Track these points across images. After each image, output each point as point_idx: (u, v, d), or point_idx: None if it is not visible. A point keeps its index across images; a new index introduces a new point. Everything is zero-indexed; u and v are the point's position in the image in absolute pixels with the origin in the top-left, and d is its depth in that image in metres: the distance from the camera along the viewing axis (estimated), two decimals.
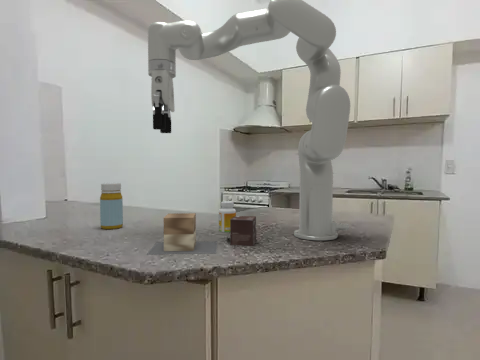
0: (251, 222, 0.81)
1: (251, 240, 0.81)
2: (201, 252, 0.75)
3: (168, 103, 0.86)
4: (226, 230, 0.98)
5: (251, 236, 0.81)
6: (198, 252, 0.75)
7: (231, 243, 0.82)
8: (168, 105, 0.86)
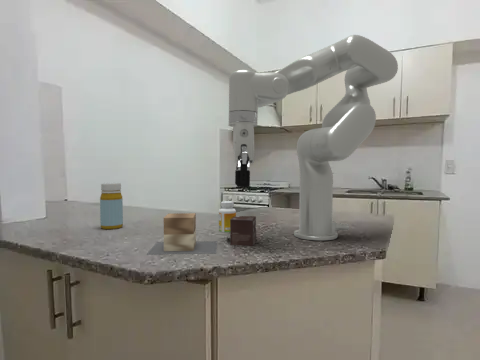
0: (251, 222, 0.81)
1: (251, 240, 0.81)
2: (201, 252, 0.75)
3: (253, 158, 0.79)
4: (226, 230, 0.98)
5: (251, 236, 0.81)
6: (198, 252, 0.75)
7: (231, 243, 0.82)
8: (253, 160, 0.79)
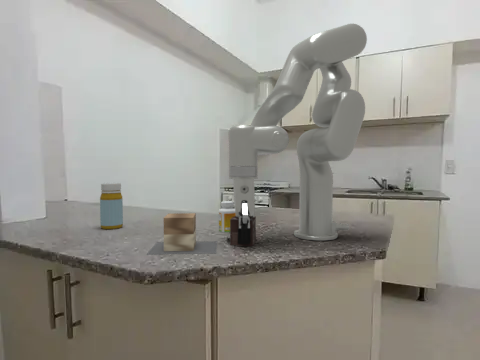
0: (251, 222, 0.81)
1: (251, 240, 0.81)
2: (201, 252, 0.75)
3: (254, 214, 0.80)
4: (226, 230, 0.98)
5: (251, 236, 0.81)
6: (198, 252, 0.75)
7: (231, 243, 0.82)
8: (254, 216, 0.80)
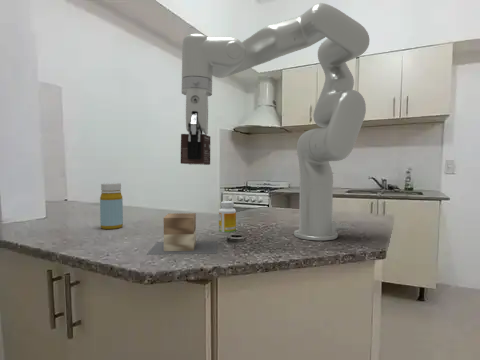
0: (202, 136, 0.77)
1: (202, 156, 0.77)
2: (201, 252, 0.75)
3: (205, 126, 0.75)
4: (226, 230, 0.98)
5: (202, 151, 0.77)
6: (198, 252, 0.75)
7: (181, 159, 0.78)
8: (205, 129, 0.75)
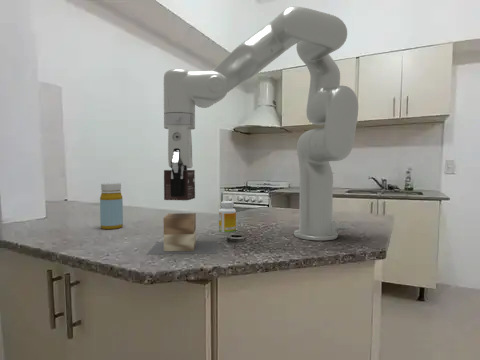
0: (185, 173, 0.76)
1: (185, 192, 0.76)
2: (201, 252, 0.75)
3: (187, 163, 0.74)
4: (226, 230, 0.98)
5: (185, 188, 0.76)
6: (198, 252, 0.75)
7: (165, 196, 0.77)
8: (187, 165, 0.75)
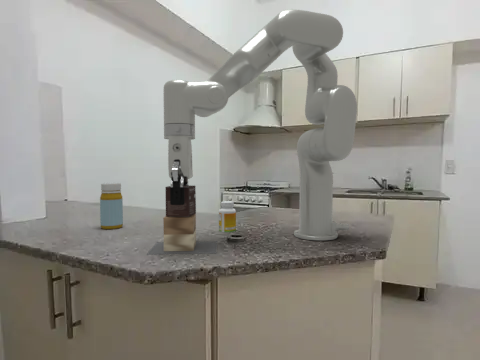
0: (187, 189, 0.76)
1: (187, 209, 0.76)
2: (201, 252, 0.75)
3: (188, 174, 0.75)
4: (226, 230, 0.98)
5: (187, 204, 0.76)
6: (198, 252, 0.75)
7: (166, 212, 0.77)
8: (188, 176, 0.75)
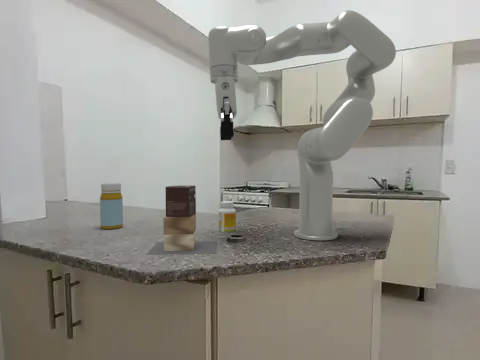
0: (187, 189, 0.76)
1: (187, 209, 0.76)
2: (201, 252, 0.75)
3: (235, 110, 0.84)
4: (226, 230, 0.98)
5: (187, 204, 0.76)
6: (198, 252, 0.75)
7: (166, 212, 0.77)
8: (235, 112, 0.84)
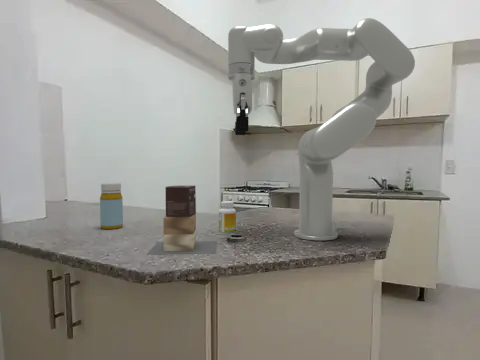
0: (187, 189, 0.76)
1: (187, 209, 0.76)
2: (201, 252, 0.75)
3: (251, 106, 0.88)
4: (226, 230, 0.98)
5: (187, 204, 0.76)
6: (198, 252, 0.75)
7: (166, 212, 0.77)
8: (251, 108, 0.88)
